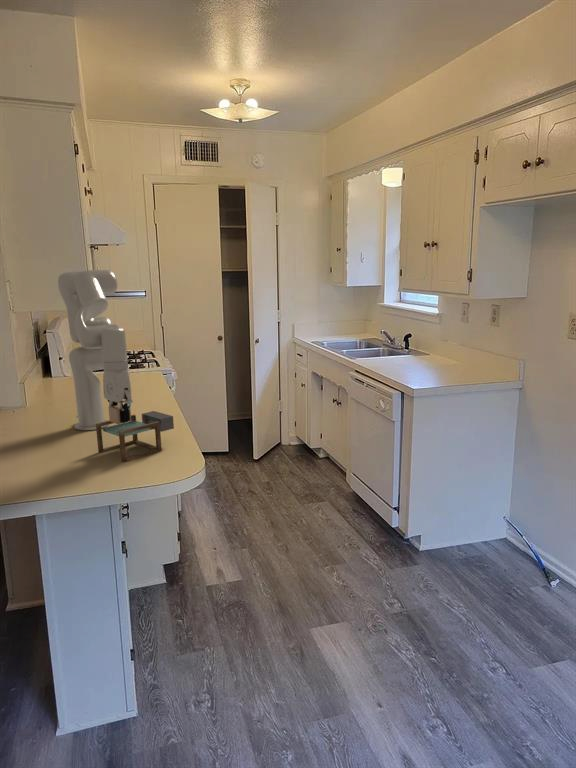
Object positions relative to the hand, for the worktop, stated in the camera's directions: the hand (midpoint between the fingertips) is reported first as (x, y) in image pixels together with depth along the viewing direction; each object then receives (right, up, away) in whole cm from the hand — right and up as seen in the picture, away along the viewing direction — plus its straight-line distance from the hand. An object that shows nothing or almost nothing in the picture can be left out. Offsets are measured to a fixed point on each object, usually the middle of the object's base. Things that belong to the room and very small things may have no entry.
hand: (120, 419), depth 183 cm
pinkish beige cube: (0, -1, 0) cm, 1 cm away
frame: (+2, -11, +4) cm, 12 cm away
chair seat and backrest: (+5, -5, +6) cm, 9 cm away
